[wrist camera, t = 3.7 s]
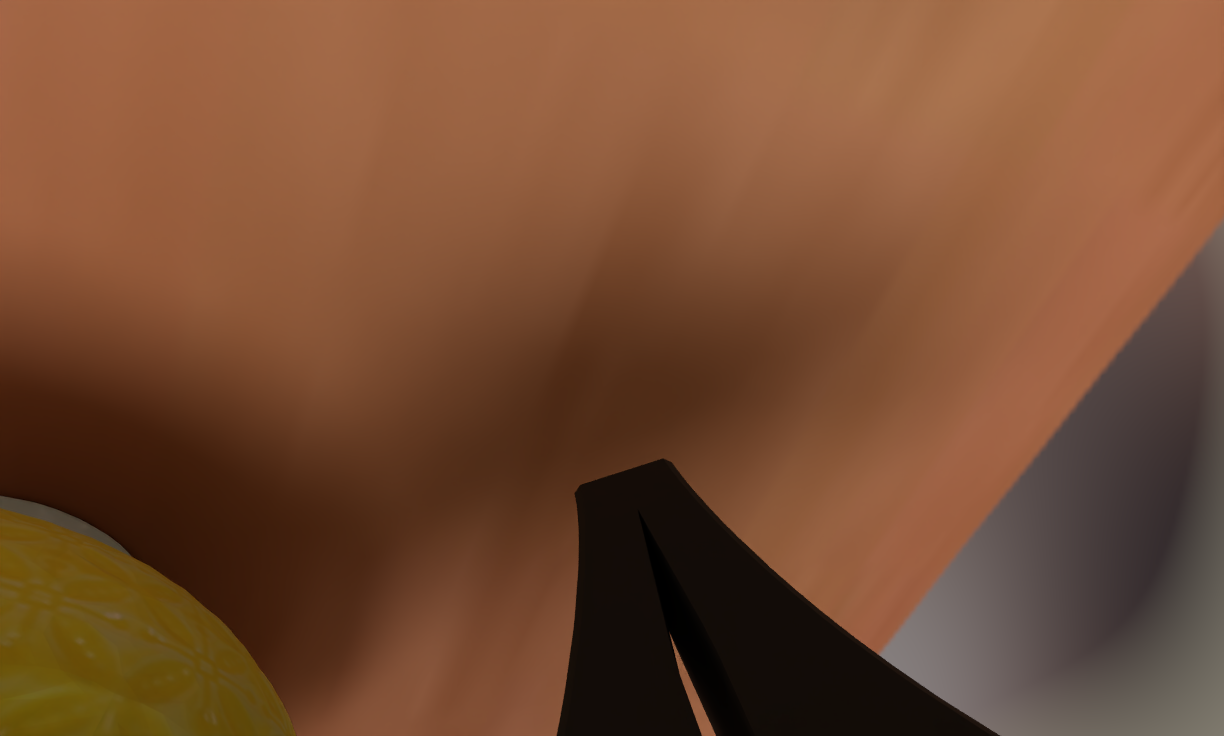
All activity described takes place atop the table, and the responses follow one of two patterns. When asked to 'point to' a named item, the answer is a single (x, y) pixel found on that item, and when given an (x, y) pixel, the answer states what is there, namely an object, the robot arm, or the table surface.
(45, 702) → the bowl
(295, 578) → the table surface
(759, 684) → the robot arm
